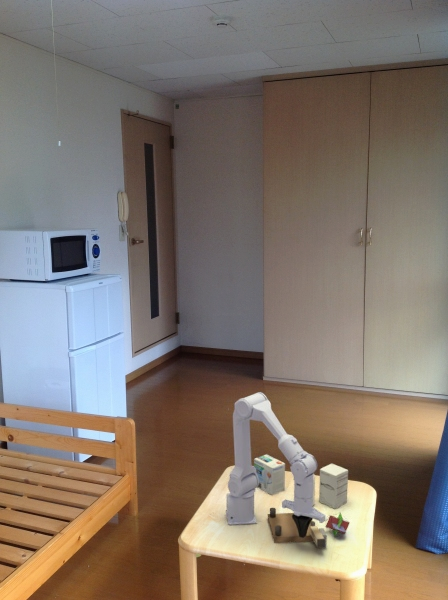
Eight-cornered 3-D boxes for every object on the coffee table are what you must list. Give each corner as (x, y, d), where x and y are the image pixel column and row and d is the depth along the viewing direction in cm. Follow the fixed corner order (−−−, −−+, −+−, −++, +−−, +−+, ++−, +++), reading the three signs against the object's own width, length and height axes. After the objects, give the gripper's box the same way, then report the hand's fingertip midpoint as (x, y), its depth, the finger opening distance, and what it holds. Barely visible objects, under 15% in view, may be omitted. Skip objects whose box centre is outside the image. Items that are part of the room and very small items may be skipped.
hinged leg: (324, 547, 169) (325, 537, 169) (317, 548, 169) (318, 538, 169) (315, 530, 179) (315, 520, 178) (308, 530, 178) (308, 521, 178)
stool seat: (274, 543, 176) (274, 529, 175) (267, 519, 190) (267, 507, 189) (318, 541, 177) (318, 527, 176) (308, 517, 191) (308, 505, 190)
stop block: (321, 549, 172) (322, 535, 172) (318, 542, 176) (319, 528, 176) (326, 549, 172) (326, 535, 172) (323, 541, 176) (323, 528, 176)
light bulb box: (253, 485, 214) (253, 458, 213) (266, 480, 218) (266, 453, 217) (272, 495, 206) (272, 468, 204) (285, 490, 210) (285, 463, 208)
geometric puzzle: (351, 522, 184) (337, 503, 183) (356, 533, 177) (341, 514, 176) (333, 534, 184) (319, 516, 184) (337, 546, 178) (323, 527, 177)
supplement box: (318, 502, 201) (318, 468, 199) (331, 495, 206) (331, 462, 204) (335, 510, 196) (335, 475, 194) (347, 502, 200) (348, 469, 199)
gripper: (276, 492, 174) (276, 532, 176) (317, 507, 164) (316, 550, 166) (289, 483, 179) (288, 523, 181) (329, 498, 170) (328, 540, 172)
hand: (302, 535), depth 174 cm, fingers closed
